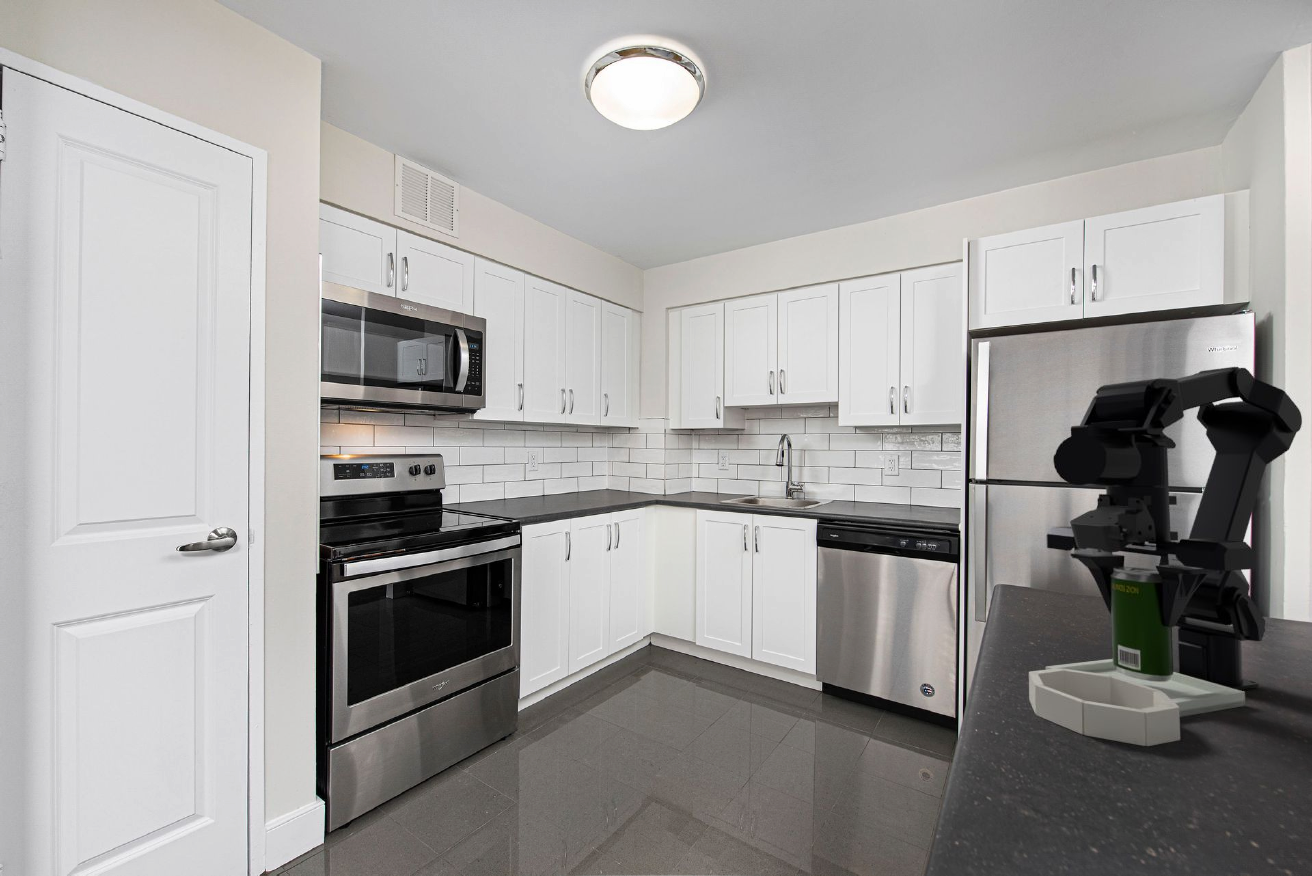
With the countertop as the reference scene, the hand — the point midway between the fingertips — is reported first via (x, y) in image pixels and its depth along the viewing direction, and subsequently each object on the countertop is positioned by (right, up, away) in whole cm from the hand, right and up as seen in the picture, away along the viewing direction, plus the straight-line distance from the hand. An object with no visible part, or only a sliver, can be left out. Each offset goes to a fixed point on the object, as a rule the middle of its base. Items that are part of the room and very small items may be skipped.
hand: (1140, 620), depth 68 cm
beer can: (0, -6, 0) cm, 6 cm away
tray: (0, -8, 0) cm, 8 cm away
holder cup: (-11, -8, -8) cm, 16 cm away
